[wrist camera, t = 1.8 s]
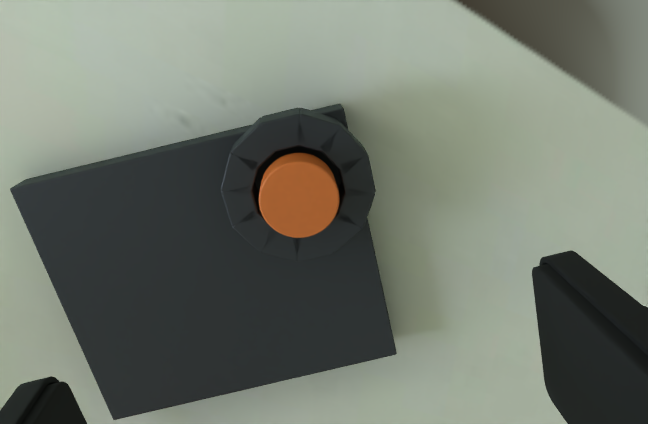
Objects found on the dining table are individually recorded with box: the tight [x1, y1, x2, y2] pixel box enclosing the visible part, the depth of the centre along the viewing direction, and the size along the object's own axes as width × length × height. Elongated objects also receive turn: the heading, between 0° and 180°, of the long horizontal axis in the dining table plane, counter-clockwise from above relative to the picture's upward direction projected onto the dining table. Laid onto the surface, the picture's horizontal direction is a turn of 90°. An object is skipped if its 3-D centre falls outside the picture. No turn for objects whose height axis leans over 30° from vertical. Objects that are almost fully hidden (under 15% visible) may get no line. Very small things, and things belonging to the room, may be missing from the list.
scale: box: [10, 104, 396, 420], centre depth 24 cm, size 14×12×3 cm
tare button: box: [259, 153, 339, 238], centre depth 21 cm, size 3×3×2 cm
